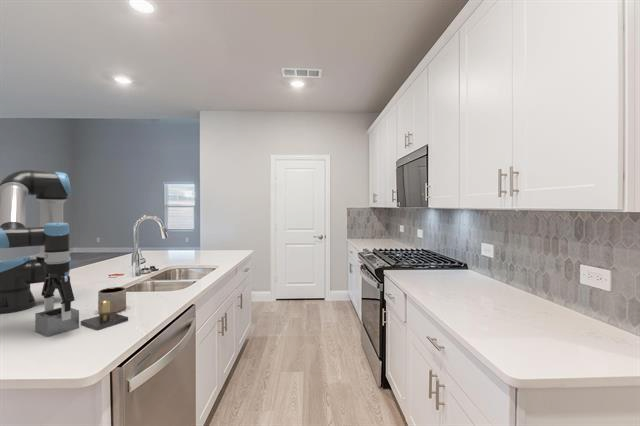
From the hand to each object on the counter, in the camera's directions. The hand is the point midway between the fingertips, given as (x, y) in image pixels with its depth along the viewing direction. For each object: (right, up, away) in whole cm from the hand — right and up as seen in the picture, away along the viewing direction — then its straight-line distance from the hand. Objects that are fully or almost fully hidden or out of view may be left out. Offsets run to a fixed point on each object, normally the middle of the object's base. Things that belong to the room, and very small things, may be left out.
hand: (57, 316), depth 121 cm
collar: (0, -5, 0) cm, 5 cm away
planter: (+6, -5, +23) cm, 24 cm away
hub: (+13, -5, +8) cm, 16 cm away
